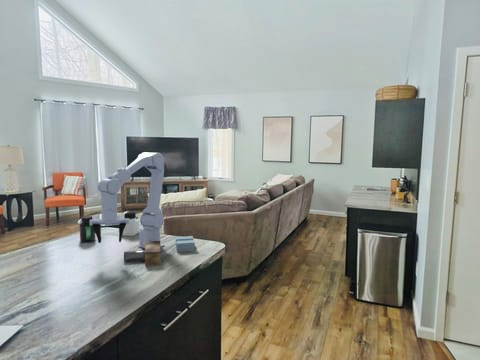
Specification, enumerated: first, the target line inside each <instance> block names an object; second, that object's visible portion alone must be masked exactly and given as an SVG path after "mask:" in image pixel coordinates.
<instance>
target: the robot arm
mask: <svg viewBox="0 0 480 360" xmlns="http://www.w3.org/2000/svg"><path fill="white" fill-rule="evenodd" d="M165 160H166V159H165V157H164V155H163V154H162V153H161V152H147V151H144V152H141V153H140V154H138V156H137V157H136V159H135V160H133V161H132V162H131V163H130V164H129V165H128V166H126V167H125V168H124V167H118V168H117V169H116V171H115V172H114V173H112V174H109V175H108V177H107V178H102V179H101V180H100V181H99V183H98V185H97V189H98V191H99V193H100V196H101V197H100V201H101V218H97V219H96V218H95V219H93V218H92V219H93V220H90V225H93V227H92V228H93V230H94V232H95V237H96V238H97V242H98V244H101V243H102V234H101V233H102V231H101V230H102V225H118V234H119V235H118V242H119V243H122V239H123V238H122V237H123V236H122V234H123V231H124V228H125V226H126V224H129V218H124V217H118V200H117V199H118V193H119V191H120V189H121V187H122V186H123V185H124V184H126V183H127V182H128V181H129V180H131V179H132V178H131V177H132V174H134V173H136V172H137V171H138V170H140V169H142V168H143V167H144V168H145V169H147V170H148V171H149V172H150V174H151V176H150V184H149V190H148V198H147V204H146V205H147V206H146V207H145V208H144V209H143V210H142V214H141V216H140V218H139V224H140V225H141V226H142V227H141V228H140V229H139V233H138V235H139V236H138V239H139V241H138V243H139V245H137V246H138V247H139V248H142V249H145V247H146V242H147V241H160V242H161V229H162V227H163V225H164V222H165V221H164V212H163V211H162V209H161V208H160V205H161V196H162V189H163V182H164V181H163V180H164V175H165ZM164 246H165V244H163V243H160V247H164Z"/></svg>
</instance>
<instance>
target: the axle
mask: <svg viewBox="0 0 480 360" xmlns="http://www.w3.org/2000/svg"><path fill="white" fill-rule="evenodd" d="M137 261H138V262H139V261H145V249H144V250H143V249H142V250H131V251H130V250H129V251H123V262H125V263H126V262H137Z"/></svg>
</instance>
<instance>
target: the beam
mask: <svg viewBox="0 0 480 360" xmlns="http://www.w3.org/2000/svg"><path fill="white" fill-rule="evenodd" d="M160 244H161V240H160V241H147V242H146V247H145V248H144V250H145V260H144V266H145V267H146V266H147V267H149V266H157V265H158V266H159V265H162V264H161V263H162V261H161V259H162V258H161V256H162V255H161V253H162V251H161V247H160Z"/></svg>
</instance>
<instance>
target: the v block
mask: <svg viewBox="0 0 480 360" xmlns="http://www.w3.org/2000/svg"><path fill="white" fill-rule="evenodd" d="M195 245H196V243H195V240H194V236H193V235H191V236H190V235H188V236H175V249H176V253H184V252H195V251H196V250H195V247H196V246H195Z"/></svg>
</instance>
